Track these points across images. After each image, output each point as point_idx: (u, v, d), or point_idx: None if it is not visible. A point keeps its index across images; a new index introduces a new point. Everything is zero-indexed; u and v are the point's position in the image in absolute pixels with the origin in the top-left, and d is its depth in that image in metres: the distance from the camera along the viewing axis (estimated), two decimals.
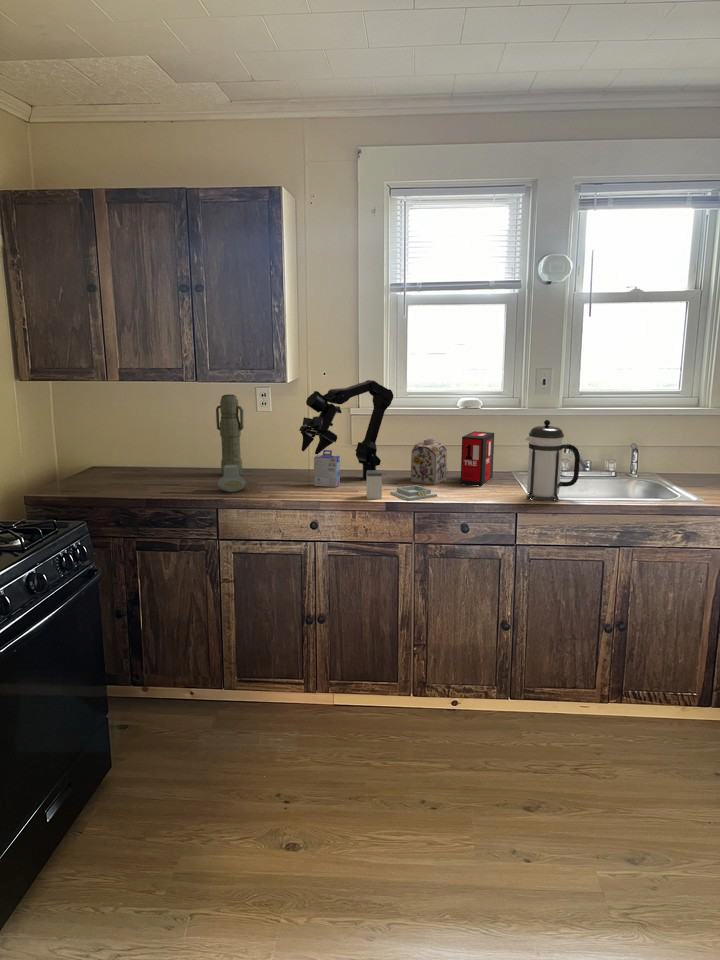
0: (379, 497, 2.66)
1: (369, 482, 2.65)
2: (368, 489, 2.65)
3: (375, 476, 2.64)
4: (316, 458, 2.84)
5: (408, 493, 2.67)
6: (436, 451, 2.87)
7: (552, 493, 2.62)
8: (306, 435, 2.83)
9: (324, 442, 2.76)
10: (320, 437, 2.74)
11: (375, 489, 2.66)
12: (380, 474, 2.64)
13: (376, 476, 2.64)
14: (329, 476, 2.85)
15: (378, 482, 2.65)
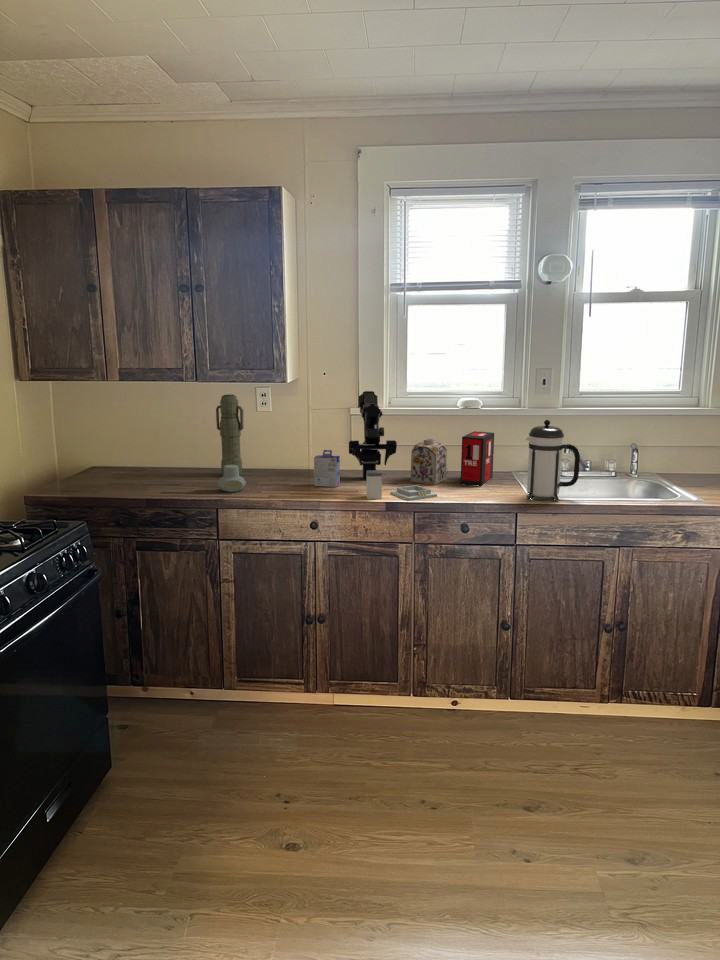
0: (379, 497, 2.66)
1: (369, 482, 2.65)
2: (368, 489, 2.65)
3: (375, 476, 2.64)
4: (316, 458, 2.84)
5: (408, 493, 2.67)
6: (436, 451, 2.87)
7: (552, 493, 2.62)
8: (359, 449, 2.74)
9: None
10: (388, 447, 2.73)
11: (375, 489, 2.66)
12: (380, 474, 2.64)
13: (376, 476, 2.64)
14: (329, 476, 2.85)
15: (378, 482, 2.65)
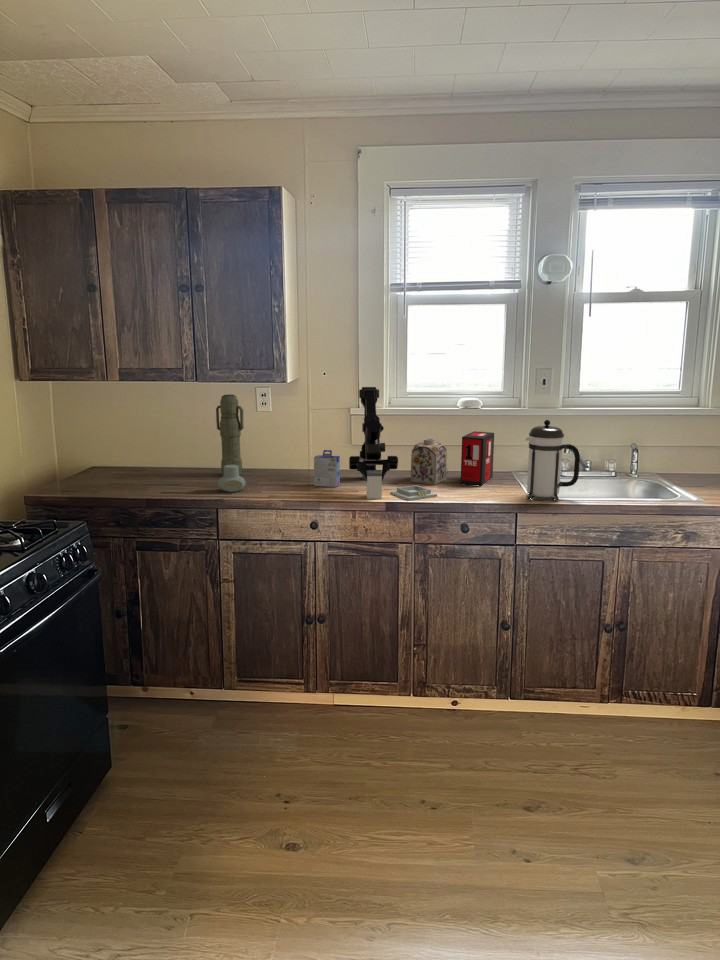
0: (379, 497, 2.66)
1: (369, 482, 2.65)
2: (368, 489, 2.65)
3: (375, 476, 2.64)
4: (316, 458, 2.84)
5: (408, 493, 2.67)
6: (436, 451, 2.87)
7: (552, 493, 2.62)
8: (365, 465, 2.68)
9: None
10: (385, 463, 2.68)
11: (375, 489, 2.66)
12: (380, 474, 2.64)
13: (376, 476, 2.64)
14: (329, 476, 2.85)
15: (378, 482, 2.65)
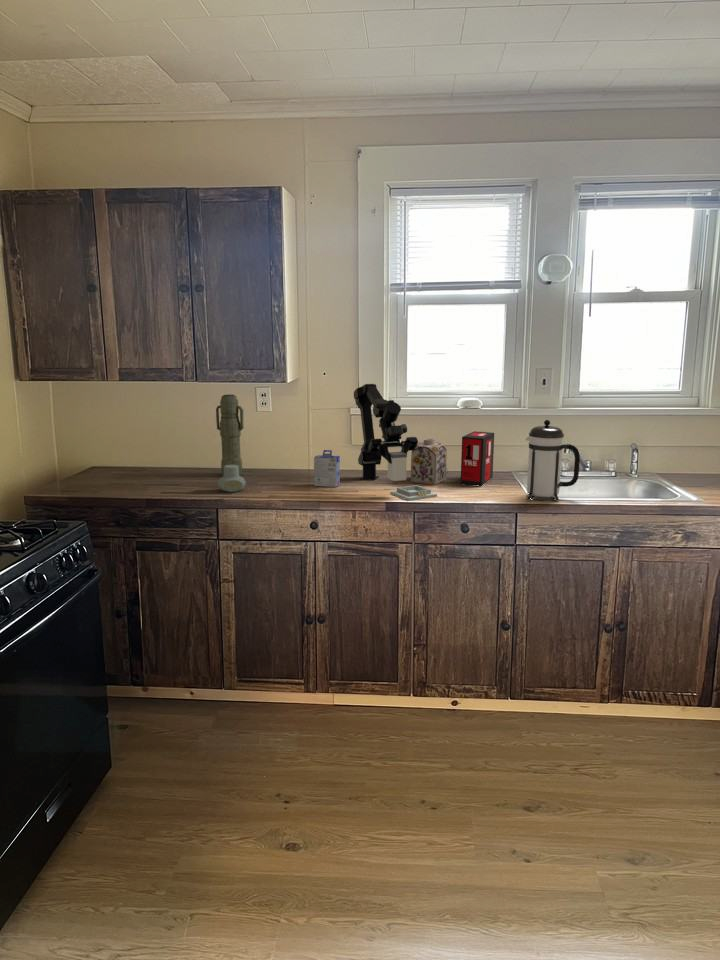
0: (404, 478, 2.66)
1: (394, 463, 2.64)
2: (393, 471, 2.64)
3: (400, 458, 2.64)
4: (316, 458, 2.84)
5: (408, 493, 2.67)
6: (436, 451, 2.87)
7: (552, 493, 2.62)
8: None
9: None
10: (406, 444, 2.68)
11: (400, 470, 2.65)
12: (405, 455, 2.64)
13: (401, 457, 2.64)
14: (329, 476, 2.85)
15: (403, 463, 2.65)
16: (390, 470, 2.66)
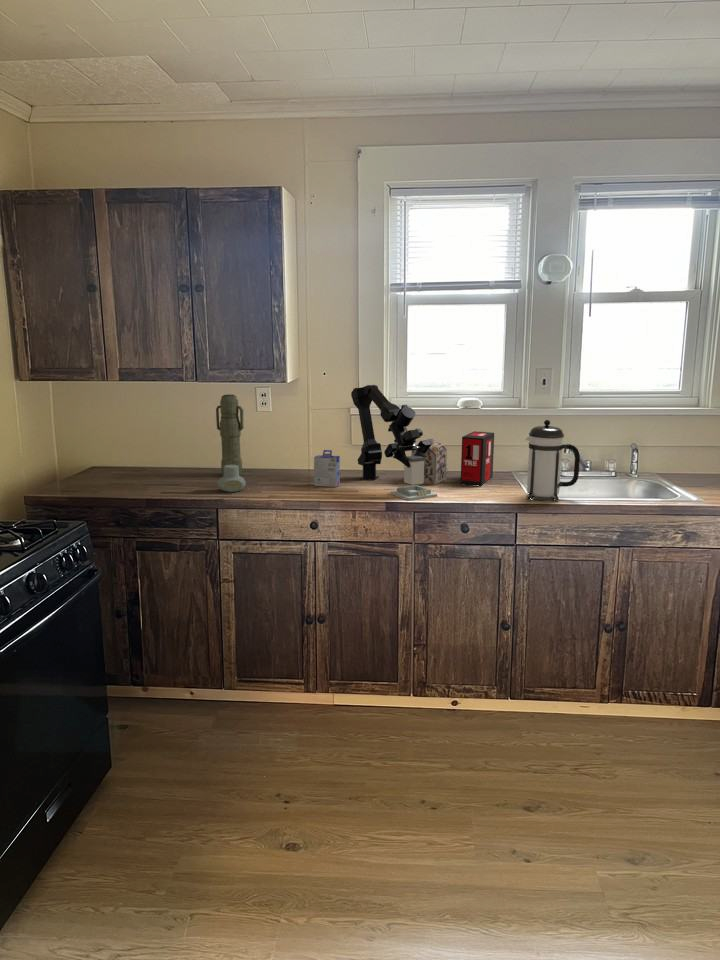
0: (421, 481, 2.70)
1: (413, 467, 2.66)
2: (413, 475, 2.67)
3: (419, 461, 2.67)
4: (316, 458, 2.84)
5: (408, 493, 2.67)
6: (436, 451, 2.87)
7: (552, 493, 2.62)
8: None
9: None
10: (421, 448, 2.72)
11: (418, 474, 2.68)
12: (423, 459, 2.68)
13: (420, 461, 2.67)
14: (329, 476, 2.85)
15: (421, 466, 2.68)
16: (408, 474, 2.68)
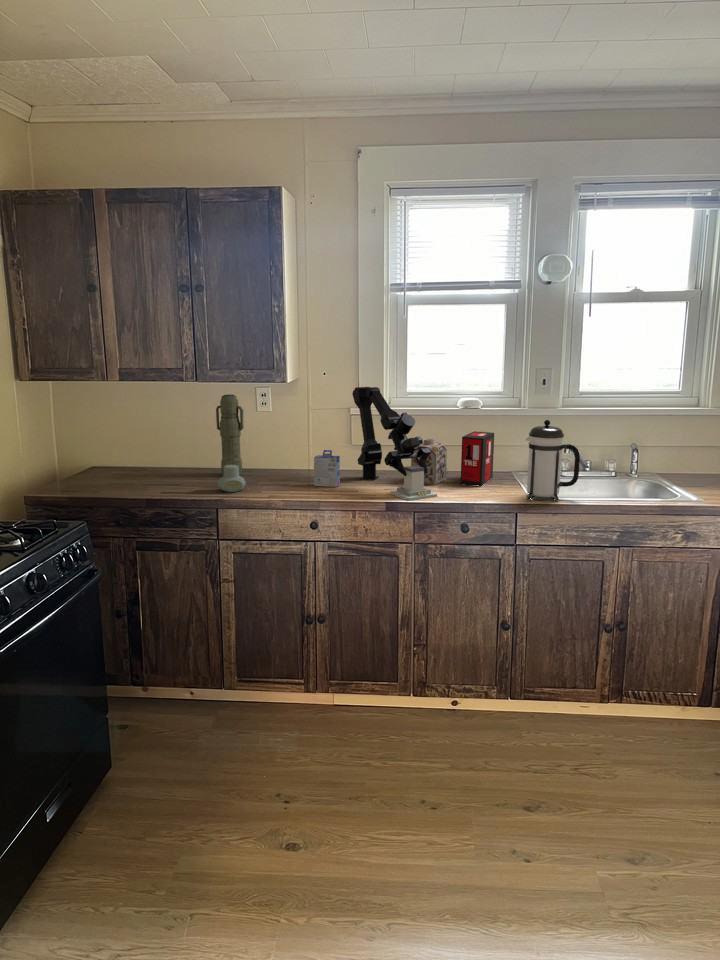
0: None
1: (413, 477, 2.67)
2: (412, 485, 2.68)
3: (418, 471, 2.68)
4: (316, 458, 2.84)
5: (408, 493, 2.67)
6: (436, 451, 2.87)
7: (552, 493, 2.62)
8: None
9: None
10: (425, 455, 2.73)
11: (418, 484, 2.69)
12: (422, 469, 2.69)
13: (419, 471, 2.68)
14: (329, 476, 2.85)
15: (421, 476, 2.69)
16: (408, 484, 2.69)
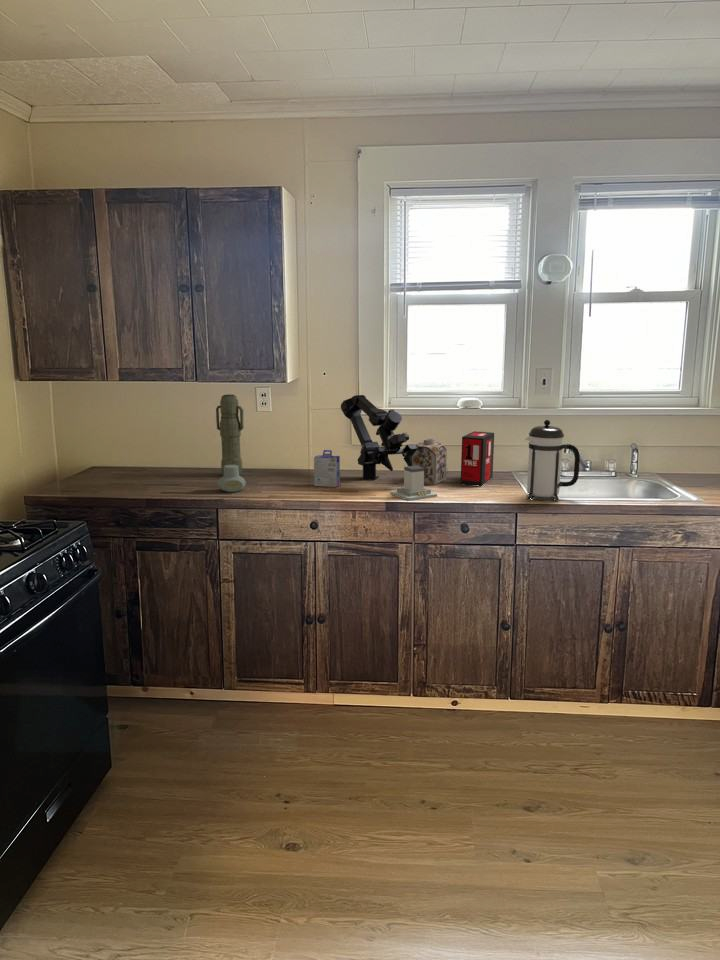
0: None
1: (413, 477, 2.67)
2: (412, 485, 2.68)
3: (418, 471, 2.68)
4: (316, 458, 2.84)
5: (408, 493, 2.67)
6: (436, 451, 2.87)
7: (552, 493, 2.62)
8: None
9: None
10: (411, 451, 2.81)
11: (418, 484, 2.69)
12: (422, 469, 2.69)
13: (419, 471, 2.68)
14: (329, 476, 2.85)
15: (421, 476, 2.69)
16: (408, 484, 2.69)
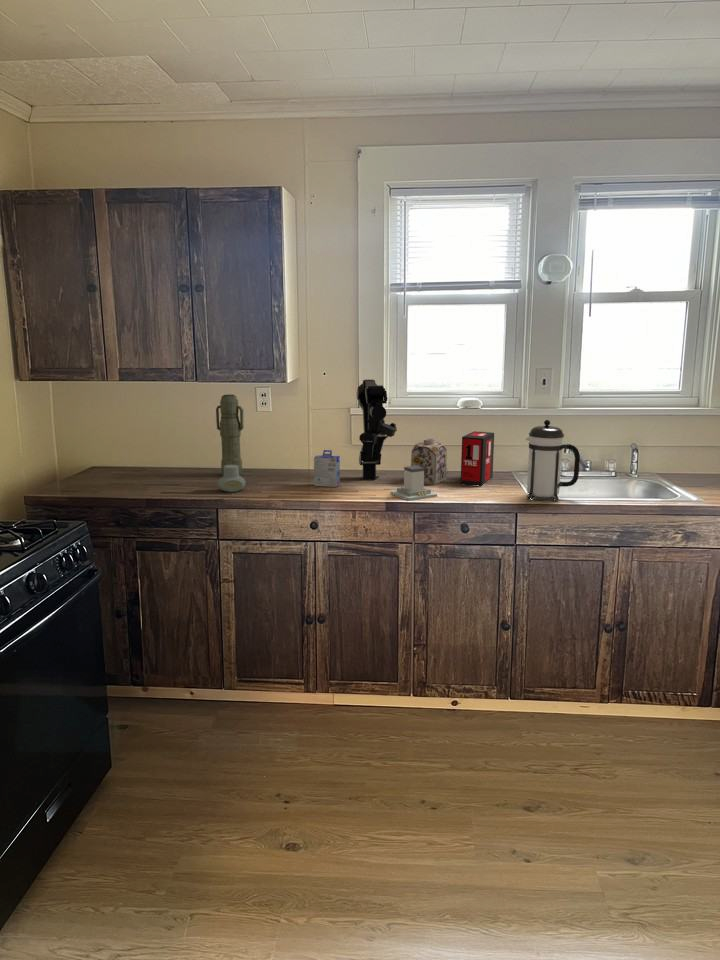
0: None
1: (413, 477, 2.67)
2: (412, 485, 2.68)
3: (418, 471, 2.68)
4: (316, 458, 2.84)
5: (408, 493, 2.67)
6: (436, 451, 2.87)
7: (552, 493, 2.62)
8: None
9: None
10: None
11: (418, 484, 2.69)
12: (422, 469, 2.69)
13: (419, 471, 2.68)
14: (329, 476, 2.85)
15: (421, 476, 2.69)
16: (408, 484, 2.69)
